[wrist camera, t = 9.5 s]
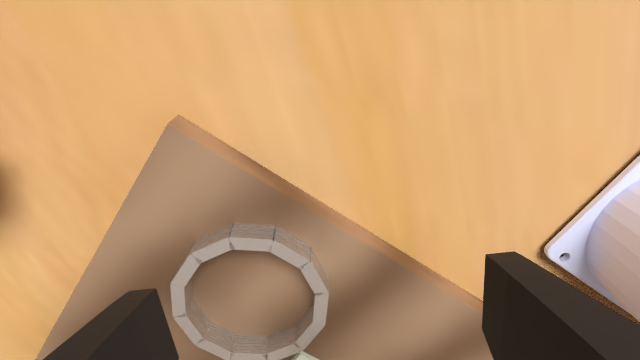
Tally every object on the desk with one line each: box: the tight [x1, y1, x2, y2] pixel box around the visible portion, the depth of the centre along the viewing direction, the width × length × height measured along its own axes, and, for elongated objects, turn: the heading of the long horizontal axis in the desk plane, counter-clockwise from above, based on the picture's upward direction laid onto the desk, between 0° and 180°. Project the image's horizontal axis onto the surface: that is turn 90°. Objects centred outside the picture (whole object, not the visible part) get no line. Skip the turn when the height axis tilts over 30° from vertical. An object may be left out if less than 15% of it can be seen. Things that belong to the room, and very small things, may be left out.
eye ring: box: [170, 223, 329, 360], centre depth 19 cm, size 7×7×1 cm
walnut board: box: [35, 115, 494, 360], centre depth 22 cm, size 22×16×2 cm
